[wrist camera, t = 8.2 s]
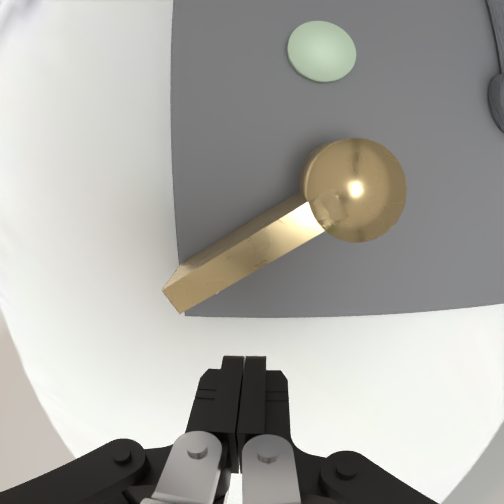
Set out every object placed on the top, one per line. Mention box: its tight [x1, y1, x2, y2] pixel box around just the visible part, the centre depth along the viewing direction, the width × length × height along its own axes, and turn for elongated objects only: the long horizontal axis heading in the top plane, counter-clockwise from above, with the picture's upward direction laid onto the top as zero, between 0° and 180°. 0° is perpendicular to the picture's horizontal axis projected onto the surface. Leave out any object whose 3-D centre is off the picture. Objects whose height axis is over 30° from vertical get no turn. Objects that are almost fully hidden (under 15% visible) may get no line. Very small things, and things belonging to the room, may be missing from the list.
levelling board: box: [171, 0, 504, 318], centre depth 16 cm, size 29×33×2 cm
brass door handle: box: [162, 138, 407, 314], centre depth 17 cm, size 14×5×4 cm, turn 123°
